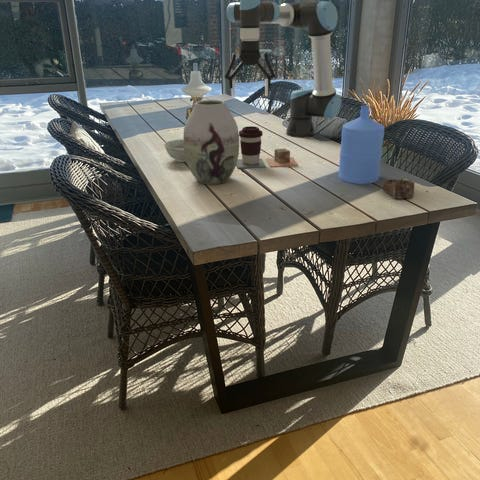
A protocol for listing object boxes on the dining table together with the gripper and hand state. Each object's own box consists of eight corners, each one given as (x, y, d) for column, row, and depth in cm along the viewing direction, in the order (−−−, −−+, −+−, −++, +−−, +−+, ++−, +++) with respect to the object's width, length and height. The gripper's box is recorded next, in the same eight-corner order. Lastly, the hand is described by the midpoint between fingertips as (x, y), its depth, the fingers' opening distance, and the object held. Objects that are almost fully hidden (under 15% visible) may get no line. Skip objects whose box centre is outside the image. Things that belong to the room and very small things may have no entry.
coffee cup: (260, 166, 206) (260, 131, 199) (237, 165, 208) (236, 130, 201) (263, 160, 215) (264, 125, 208) (241, 159, 216) (241, 125, 210)
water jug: (371, 188, 182) (379, 111, 171) (331, 181, 190) (337, 107, 178) (384, 176, 194) (392, 104, 182) (346, 170, 202) (352, 101, 190)
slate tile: (261, 160, 217) (261, 158, 217) (265, 168, 206) (265, 166, 206) (234, 161, 216) (234, 159, 216) (237, 169, 205) (237, 167, 205)
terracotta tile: (292, 159, 218) (292, 157, 218) (298, 166, 208) (298, 165, 207) (266, 160, 217) (266, 158, 217) (270, 167, 207) (270, 166, 206)
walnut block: (284, 159, 215) (285, 148, 213) (289, 162, 211) (290, 151, 209) (274, 160, 214) (274, 149, 211) (279, 163, 209) (279, 152, 207)
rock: (382, 189, 180) (384, 172, 177) (403, 189, 180) (406, 172, 178) (394, 200, 168) (396, 182, 166) (416, 200, 169) (419, 182, 166)
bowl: (206, 156, 223) (205, 140, 220) (191, 166, 210) (190, 149, 207) (174, 154, 228) (173, 138, 225) (158, 163, 214) (157, 146, 211)
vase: (198, 192, 180) (194, 109, 167) (177, 176, 197) (172, 100, 184) (249, 183, 189) (249, 104, 176) (225, 169, 206) (223, 95, 193)
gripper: (279, 38, 194) (278, 93, 204) (217, 39, 192) (218, 95, 201) (283, 40, 188) (281, 96, 197) (218, 41, 186) (219, 98, 195)
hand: (249, 96), depth 199 cm, fingers open, 13 cm apart
